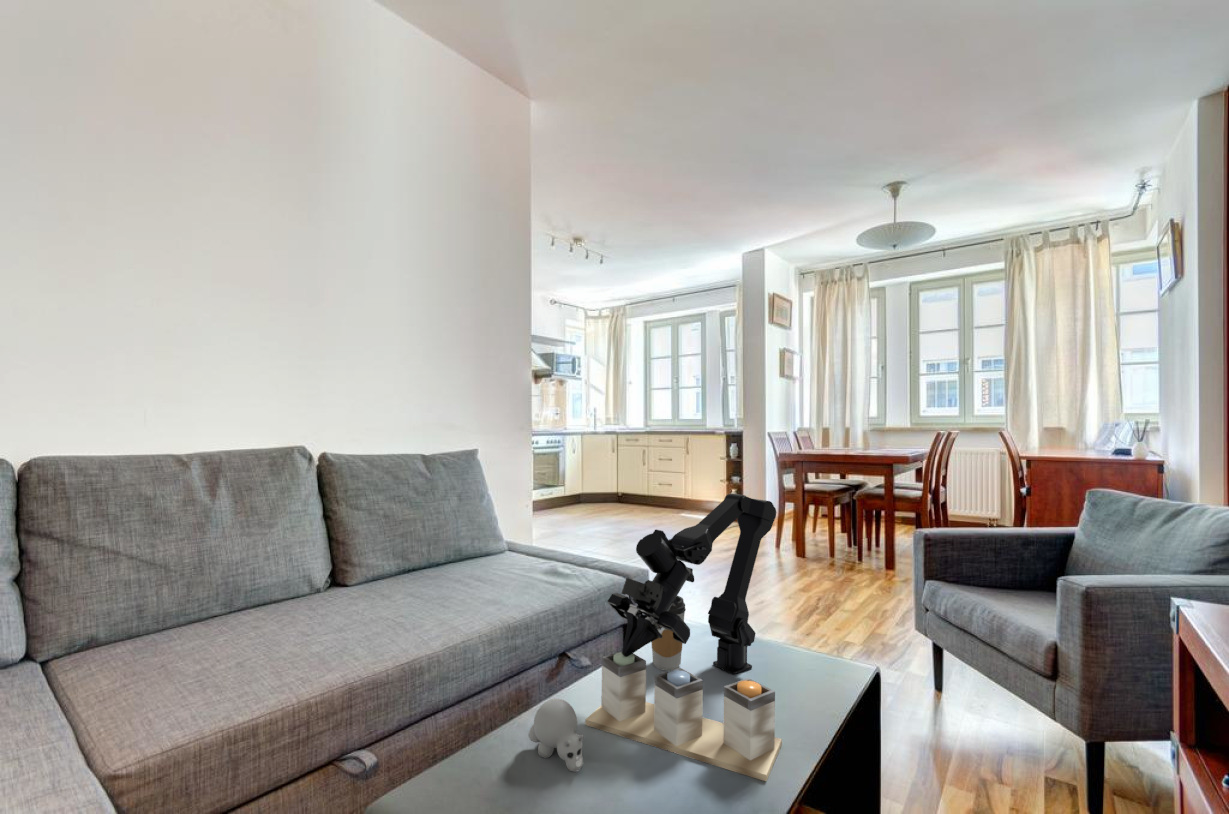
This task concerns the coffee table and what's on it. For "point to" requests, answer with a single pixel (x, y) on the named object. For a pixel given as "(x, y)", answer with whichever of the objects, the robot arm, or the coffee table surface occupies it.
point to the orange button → (749, 688)
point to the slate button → (678, 677)
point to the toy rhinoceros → (558, 733)
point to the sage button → (623, 659)
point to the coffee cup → (669, 643)
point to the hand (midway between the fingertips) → (624, 655)
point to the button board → (691, 748)
